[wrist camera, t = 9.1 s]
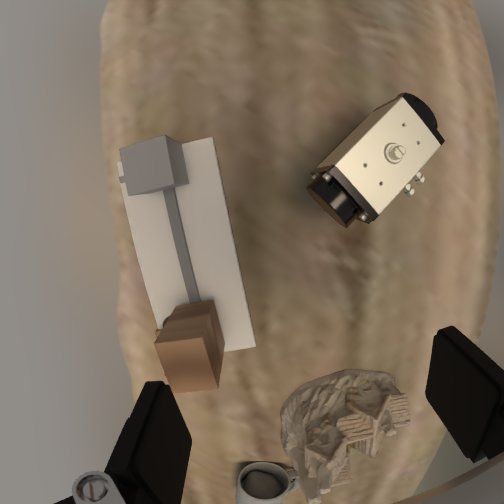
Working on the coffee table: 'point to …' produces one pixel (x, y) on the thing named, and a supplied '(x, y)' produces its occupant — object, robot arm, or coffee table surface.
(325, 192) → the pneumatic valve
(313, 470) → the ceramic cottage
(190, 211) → the board
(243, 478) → the ceramic mug
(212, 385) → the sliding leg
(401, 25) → the coffee table surface
